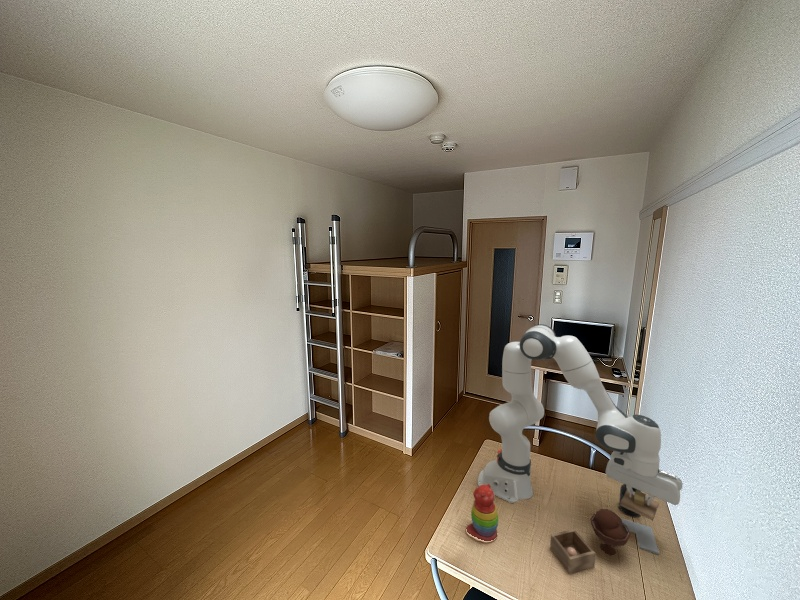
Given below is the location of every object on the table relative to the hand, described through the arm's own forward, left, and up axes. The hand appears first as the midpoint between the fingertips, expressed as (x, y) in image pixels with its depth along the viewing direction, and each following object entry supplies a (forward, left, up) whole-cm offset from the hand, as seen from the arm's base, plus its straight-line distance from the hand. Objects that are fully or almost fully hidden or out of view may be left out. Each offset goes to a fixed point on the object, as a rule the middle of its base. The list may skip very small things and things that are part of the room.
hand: (639, 500), depth 109 cm
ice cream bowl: (-10, -11, -14) cm, 20 cm away
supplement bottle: (0, +12, -14) cm, 18 cm away
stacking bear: (-48, -22, -14) cm, 55 cm away
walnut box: (-20, -20, -14) cm, 32 cm away
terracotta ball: (-20, -20, -13) cm, 31 cm away
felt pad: (0, 0, -14) cm, 14 cm away
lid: (0, 0, -2) cm, 2 cm away
